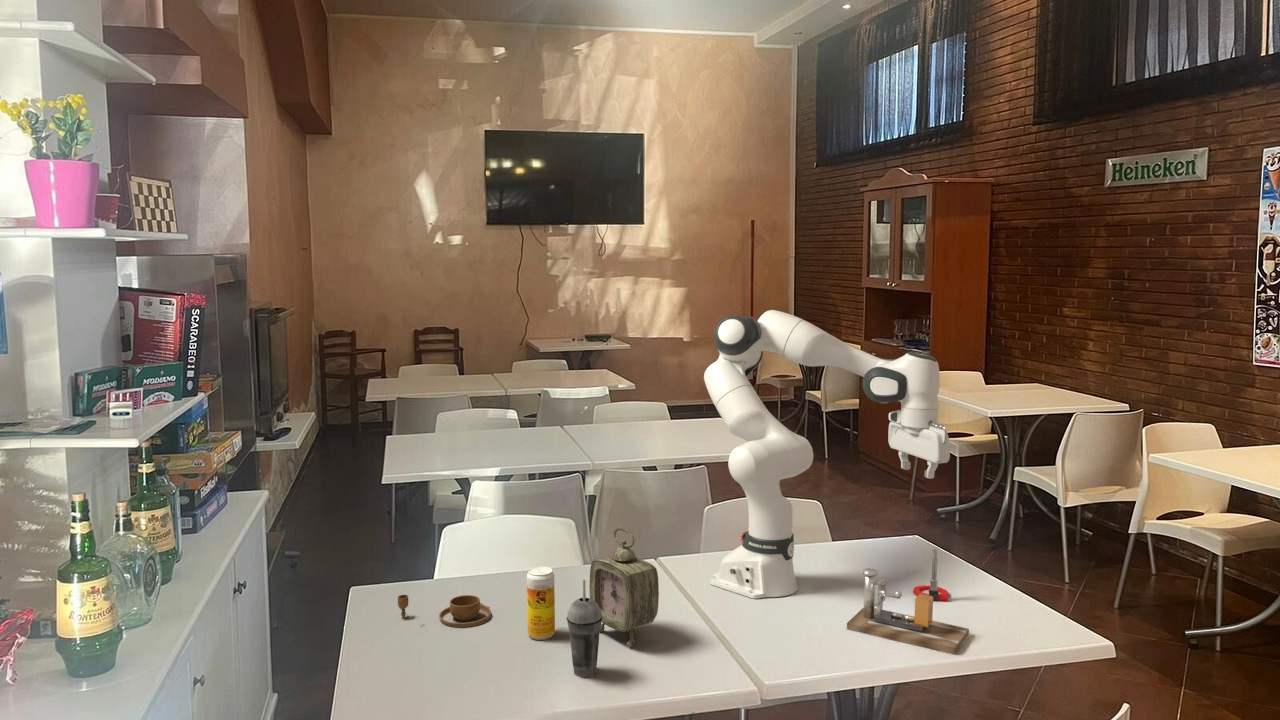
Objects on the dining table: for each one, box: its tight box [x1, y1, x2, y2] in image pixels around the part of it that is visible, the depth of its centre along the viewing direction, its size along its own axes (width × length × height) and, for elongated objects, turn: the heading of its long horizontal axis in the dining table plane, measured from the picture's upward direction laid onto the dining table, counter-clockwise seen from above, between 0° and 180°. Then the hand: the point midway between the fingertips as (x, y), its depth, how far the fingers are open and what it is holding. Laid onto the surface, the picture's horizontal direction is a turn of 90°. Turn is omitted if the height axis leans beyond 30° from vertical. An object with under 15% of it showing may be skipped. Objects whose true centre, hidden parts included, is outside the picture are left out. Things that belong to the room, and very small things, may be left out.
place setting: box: [397, 594, 492, 628], centre depth 213 cm, size 18×20×6 cm
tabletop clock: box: [589, 526, 660, 648], centre depth 200 cm, size 14×9×25 cm, turn 40°
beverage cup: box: [566, 579, 602, 678], centre depth 183 cm, size 7×7×20 cm
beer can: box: [526, 566, 556, 641], centre depth 201 cm, size 6×6×15 cm
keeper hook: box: [862, 567, 903, 619], centre depth 206 cm, size 9×3×11 cm, turn 56°
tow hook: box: [912, 548, 949, 602], centre depth 226 cm, size 8×13×9 cm
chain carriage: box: [874, 577, 934, 632], centre depth 203 cm, size 12×5×9 cm, turn 57°
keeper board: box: [846, 606, 970, 655], centre depth 203 cm, size 24×12×2 cm, turn 57°
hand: (917, 473), depth 223 cm, fingers open, 8 cm apart
